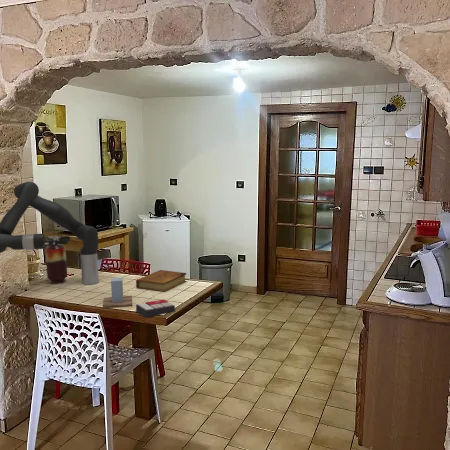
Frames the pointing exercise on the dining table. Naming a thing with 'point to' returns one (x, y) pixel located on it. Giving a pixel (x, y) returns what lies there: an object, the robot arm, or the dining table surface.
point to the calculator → (154, 308)
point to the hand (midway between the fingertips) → (68, 240)
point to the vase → (56, 263)
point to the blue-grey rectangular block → (117, 290)
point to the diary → (161, 281)
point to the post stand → (108, 303)
